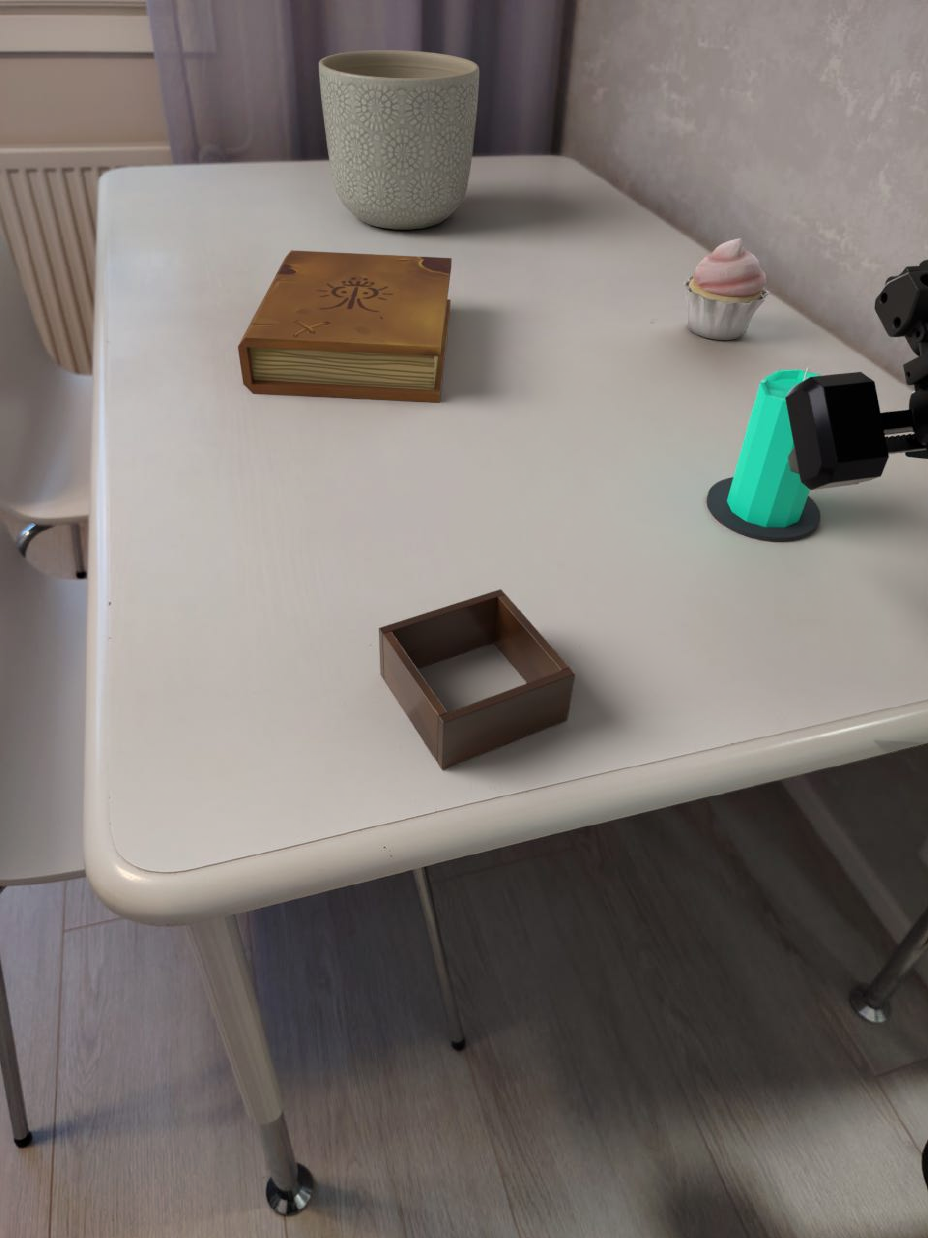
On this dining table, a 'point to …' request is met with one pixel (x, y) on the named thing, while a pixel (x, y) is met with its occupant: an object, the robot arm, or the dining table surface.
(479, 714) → the holder
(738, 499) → the candle
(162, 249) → the dining table surface
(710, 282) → the cupcake
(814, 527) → the coaster
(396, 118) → the planter
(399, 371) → the diary
